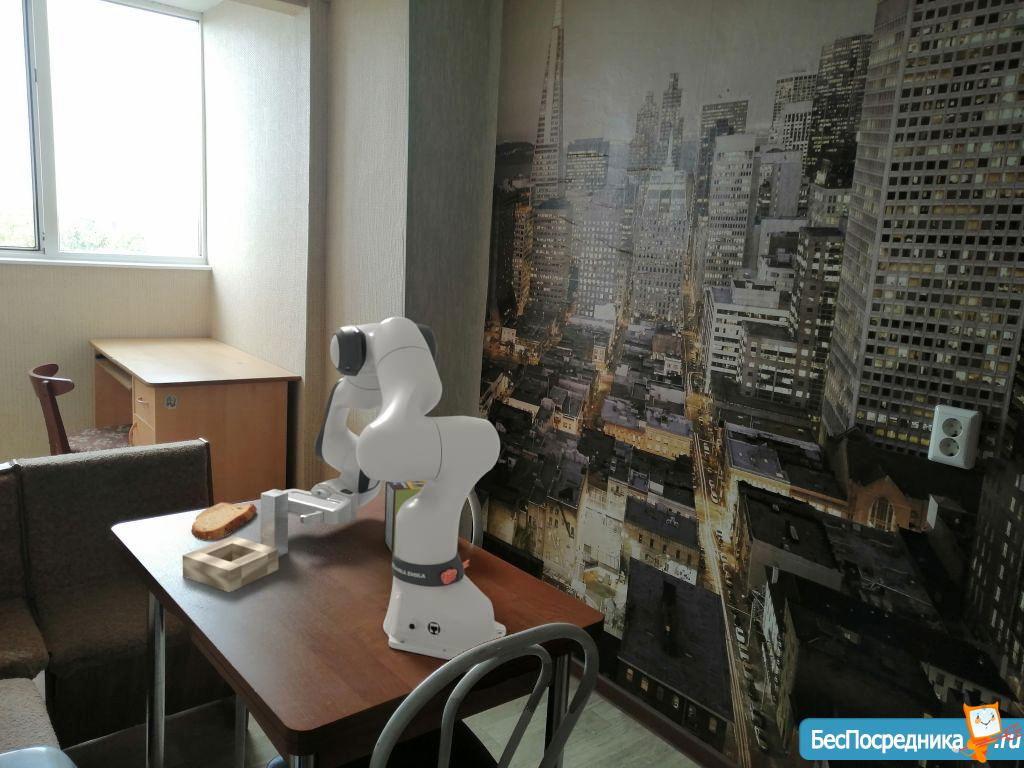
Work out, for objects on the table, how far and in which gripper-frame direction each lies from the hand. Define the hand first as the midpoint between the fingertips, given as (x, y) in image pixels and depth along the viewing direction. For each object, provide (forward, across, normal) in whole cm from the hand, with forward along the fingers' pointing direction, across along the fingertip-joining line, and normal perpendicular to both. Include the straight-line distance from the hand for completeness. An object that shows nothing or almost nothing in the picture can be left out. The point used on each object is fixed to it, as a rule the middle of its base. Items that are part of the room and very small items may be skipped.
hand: (286, 515), depth 166 cm
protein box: (-20, +23, +8) cm, 31 cm away
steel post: (+3, 0, +8) cm, 9 cm away
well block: (+15, 0, +8) cm, 17 cm away
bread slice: (-4, -23, +8) cm, 24 cm away
